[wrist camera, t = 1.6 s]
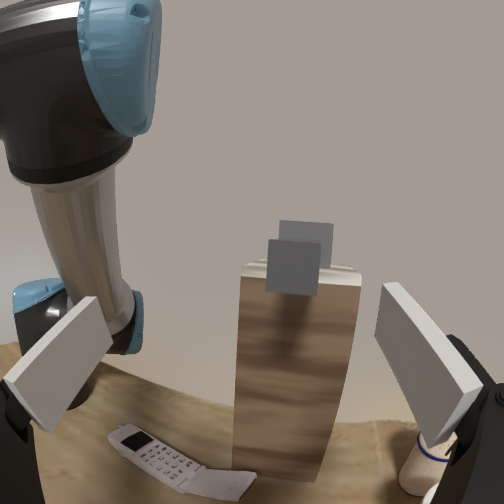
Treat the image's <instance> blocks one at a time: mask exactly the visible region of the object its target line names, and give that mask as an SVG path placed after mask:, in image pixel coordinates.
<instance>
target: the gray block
mask: <svg viewBox="0 0 504 504" xmlns="http://www.w3.org/2000/svg"><path fill="white" fill-rule="evenodd" d="M332 239H333V224H329V223H315V222H301V221H284V220H280V226H279V239H270V240H269V244H268V259H267V273H266V287H265V291H266V292H276V293H287V294H297V295H308V296H317V290H318V280H319V269H320V268H322V269H330V266H331V253H332Z"/></svg>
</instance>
